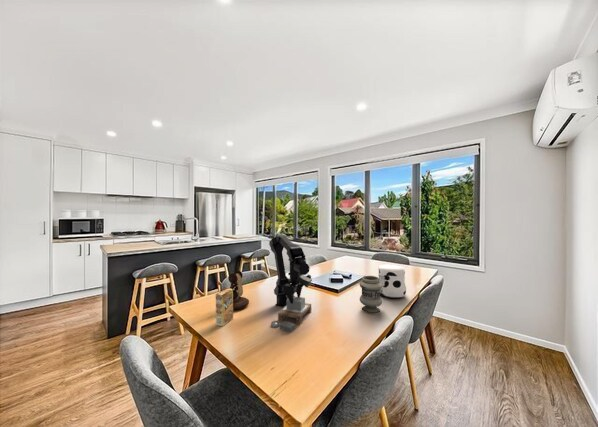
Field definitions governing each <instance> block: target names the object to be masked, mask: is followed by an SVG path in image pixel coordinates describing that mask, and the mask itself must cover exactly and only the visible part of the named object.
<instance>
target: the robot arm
mask: <svg viewBox="0 0 598 427" xmlns="http://www.w3.org/2000/svg"><path fill="white" fill-rule="evenodd" d="M268 244H269V247H270V251H271V252H272V253H273V254H274V260H275V265H276V266H275V267H276V273H277V280H276V282H275V287H274V289H273V292H274V293H273V294H274V295H275V296H276V303H275V306H277V307H282V308H284V307H285V306H286V300H287V299H289V301H290V303H291V304H293V300H294V296H295V293H296V295H297V296H296V297H301V294H302V291H303V287H306V288H308V287H309V286H310V285H311V283H312V281H313V278H312V275H311V274H309V272H310V269H311V268H310V265H309V264H308V263H307V261H306V255H305V253H304V250H303V248H302V247H301V246H300V245H298V244H295V243H293V242H292V241H291V240H290V239H289V238H288V237H287V235H286V234H277V235H276V236H274V237H273V238H271V239H270V240H269V243H268ZM284 249H285V250H286V255H287V258H288V262H289V272H288V273H287V274H288V276H289V278H288V276H287V274H286V268H285V262H284V261H285V260H284V256H283V250H284Z"/></svg>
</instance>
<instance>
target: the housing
mask: <svg viewBox="0 0 598 427" xmlns="http://www.w3.org/2000/svg"><path fill="white" fill-rule="evenodd" d="M305 303H306V297H301V296H300V297H298V296H296V295H294V300H293V304H291V303H290V301H289V299H287V300H286V305H287V309H292V310H298V311H301V310H302V309H303V308H304V307H305Z"/></svg>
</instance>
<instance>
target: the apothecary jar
mask: <svg viewBox="0 0 598 427" xmlns="http://www.w3.org/2000/svg"><path fill="white" fill-rule="evenodd" d="M359 287H360V288H361V295H360V296H359V302H360V303H361V304H362V305H363V306H362V307H361V311H362V312H363V313H367V314H369V315H370V314H371V315H377V314H378V315H379V314H380V313H381V309H380V308H379V307H380V306H381V305H383V302H384V300H383V298H382V297H381V294H380V289H381V288H382V284H381V282H379V276H374V275H364V276H362V280H361V281H360V282H359Z"/></svg>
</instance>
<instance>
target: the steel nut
mask: <svg viewBox="0 0 598 427" xmlns="http://www.w3.org/2000/svg"><path fill="white" fill-rule="evenodd" d="M270 327H271V328H278V327H279V328H280V321H279V320H273V321H271V323H270Z"/></svg>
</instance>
